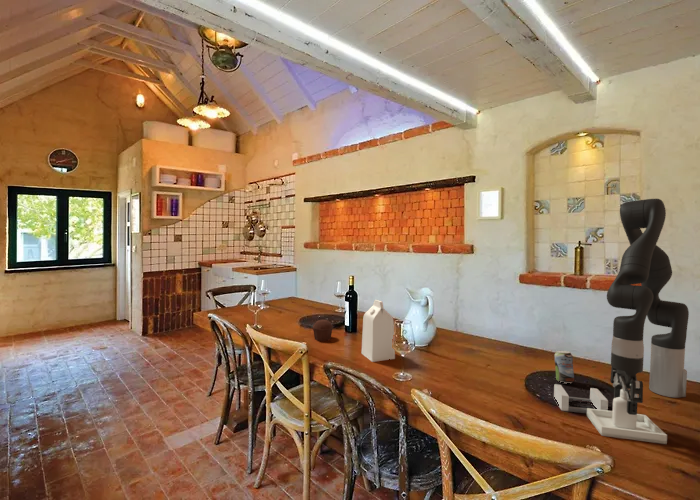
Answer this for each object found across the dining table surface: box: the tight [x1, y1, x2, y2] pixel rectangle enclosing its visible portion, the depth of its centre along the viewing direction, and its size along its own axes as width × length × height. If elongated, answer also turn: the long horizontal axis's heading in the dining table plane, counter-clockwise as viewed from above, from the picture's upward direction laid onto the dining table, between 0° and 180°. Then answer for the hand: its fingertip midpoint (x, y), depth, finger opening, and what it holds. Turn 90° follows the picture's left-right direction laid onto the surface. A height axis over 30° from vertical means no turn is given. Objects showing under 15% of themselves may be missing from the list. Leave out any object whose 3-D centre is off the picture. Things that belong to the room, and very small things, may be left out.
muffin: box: [312, 319, 334, 342], centre depth 197 cm, size 12×11×10 cm
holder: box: [553, 383, 609, 414], centre depth 121 cm, size 13×9×5 cm
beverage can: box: [554, 350, 575, 384], centre depth 141 cm, size 6×7×12 cm
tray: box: [586, 407, 668, 445], centre depth 107 cm, size 16×12×2 cm
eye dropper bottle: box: [611, 388, 637, 429], centre depth 107 cm, size 4×6×12 cm
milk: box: [361, 299, 396, 363], centre depth 169 cm, size 12×12×26 cm
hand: (624, 407), depth 107 cm, fingers open, 8 cm apart
